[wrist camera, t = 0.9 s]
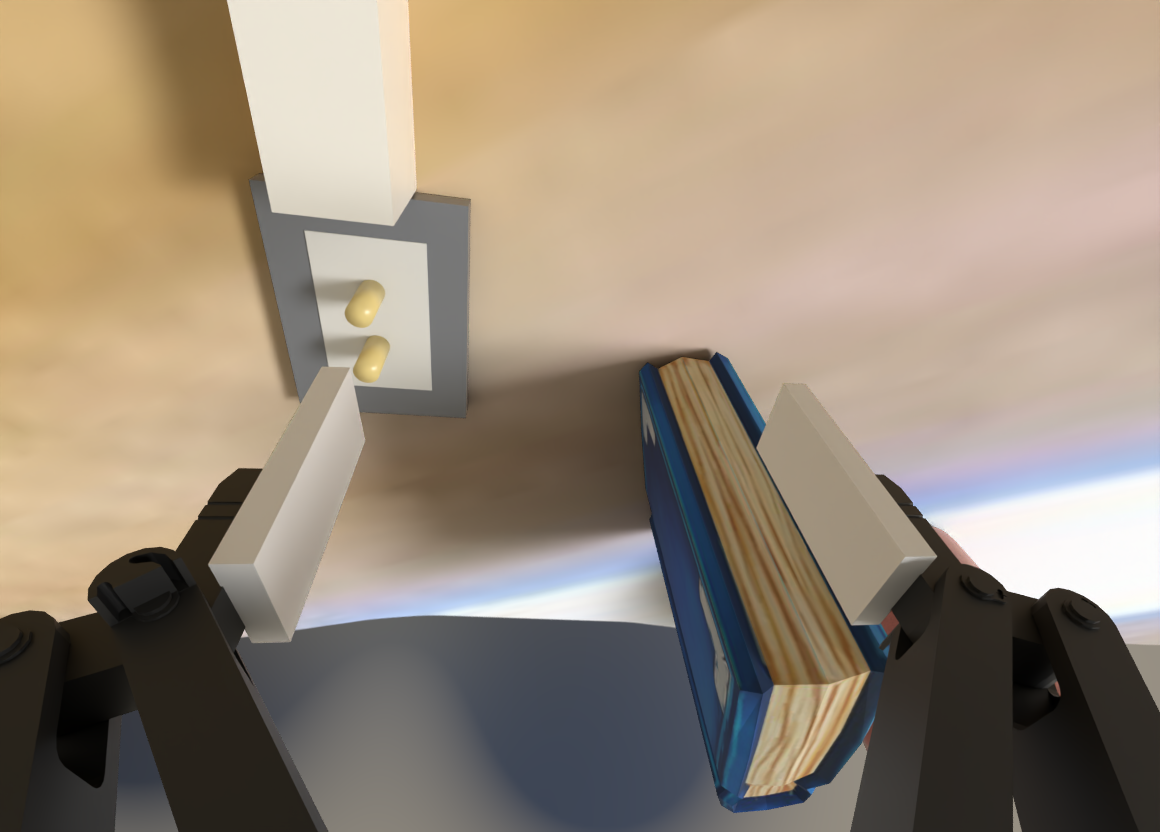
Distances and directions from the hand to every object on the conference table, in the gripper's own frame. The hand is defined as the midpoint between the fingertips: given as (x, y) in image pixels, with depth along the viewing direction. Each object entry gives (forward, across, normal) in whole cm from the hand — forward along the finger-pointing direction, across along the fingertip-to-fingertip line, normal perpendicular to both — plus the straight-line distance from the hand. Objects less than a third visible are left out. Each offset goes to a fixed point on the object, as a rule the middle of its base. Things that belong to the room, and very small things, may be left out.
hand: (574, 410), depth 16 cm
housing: (+21, -11, +6) cm, 24 cm away
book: (+21, +13, -20) cm, 32 cm away
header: (+21, -11, -7) cm, 25 cm away
